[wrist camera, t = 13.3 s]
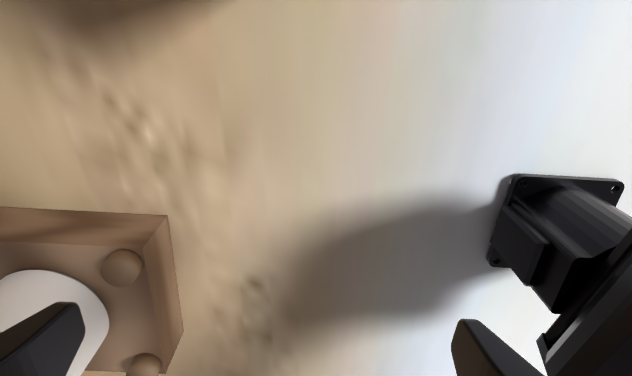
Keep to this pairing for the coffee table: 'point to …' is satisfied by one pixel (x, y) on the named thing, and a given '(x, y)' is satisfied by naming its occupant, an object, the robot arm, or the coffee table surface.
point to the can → (45, 289)
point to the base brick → (106, 276)
